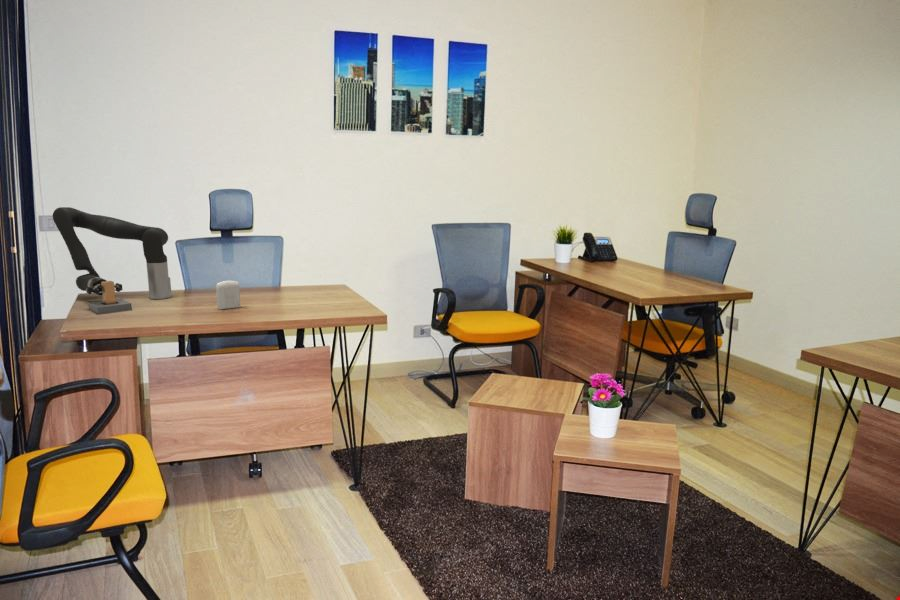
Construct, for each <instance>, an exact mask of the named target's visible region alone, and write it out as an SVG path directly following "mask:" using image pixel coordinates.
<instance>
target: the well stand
mask: <svg viewBox="0 0 900 600" xmlns="http://www.w3.org/2000/svg"><path fill="white" fill-rule="evenodd" d="M115 299H116V304H110V305H104V304H103V300H99V301H91V302H88V303H87V304H88V310H89V311H91V312H93V313H94V314H96V315H103V314H112V313H113V314H114V313H120V312H127V311H132V310H133V309H132V308H133V307H132V303H131V302H130V301H128V300H126V299H123V298H115Z"/></svg>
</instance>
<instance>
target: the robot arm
mask: <svg viewBox="0 0 900 600" xmlns="http://www.w3.org/2000/svg"><path fill="white" fill-rule="evenodd" d="M52 220H53V222H54V225H55V226H56V228H57V230H58V231H59V233H60V235H61V237H62V238H63V240H64V242H65V245H66V247H67V251H69V255H70V258H71V260H72V263H73V266H74V268H75V270H77V271H87V273H86V274H81V275H79V276H77V277H76V278H75V283H76V284H75V285H76V286H77V288H78V289H79V290H81V291H84V292H86V294H88V295H92V293H93V294H95V295H98V296H103V295H102V285H101V282H103V281H107V280H106V279H105V278H102V277H101V276H100V275H99V273H97V271H96V270H95V269H96V268H94V266H93V265H92V262H91V260H90V257H89V254H88V252H87V250H86V248H85V246H84V244H83V243H82V242H81V240H80V239H79V237H78V235H77V233H76V230H75V228H81V229H87V230H89V231H93V232H94V233H96V234H98V235H101V236H104V237H108V238H112V239H121V240H133V241H139V242H142V249H143V256H144V258H145V262H146V272H147V283H148V296H149V299H151V300H164V299H168V298H173V297H172V295H173V294H172V285H171V277H169V276H170V275H169V267H168V257H167V255H166V254H165V253H164V245H166V244H167V242H168V241H169V235H168V233H167V232H166V231H165V230H164V229H163V228H161V227H154V226H148V225H142V224H138V223H134V222H130V221H126V220H124V219H123V220H122V219H120V218H116V217H110V216H108V215H107V216H105V215H99V214H93V213H92V214H91V213H88V212H86V211H83V210H80V209H76V208H75V207H69V206H68V207H65V206H63V207H62V206H61V207H57V208H56V209H54V211H53V213H52ZM114 289H115V292H118V293H119V292H121V291H123V290H124V289H123V284H121V283H120V282H119V283H118V282H116V283H114Z"/></svg>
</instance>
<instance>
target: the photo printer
mask: <svg viewBox="0 0 900 600" xmlns="http://www.w3.org/2000/svg"><path fill="white" fill-rule="evenodd" d="M240 291H241V290H240V283H239V282H238V281H236V280H223V281H220V282H218V283H216V285H215V292H216V293H215V294H216V309H217V310H219V311H220V310H228V309H237V308H241V294H240V293H241V292H240Z"/></svg>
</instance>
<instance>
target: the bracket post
mask: <svg viewBox="0 0 900 600" xmlns="http://www.w3.org/2000/svg"><path fill="white" fill-rule="evenodd" d="M101 285H102V295H101V296H102V301H103V304H104V305H110V304H116V299H117V298H116V293H115V292H116V291H115V289H116V288H115V289H114V285H115V282H114V281H113V280H106V281H103V282H101Z"/></svg>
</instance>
